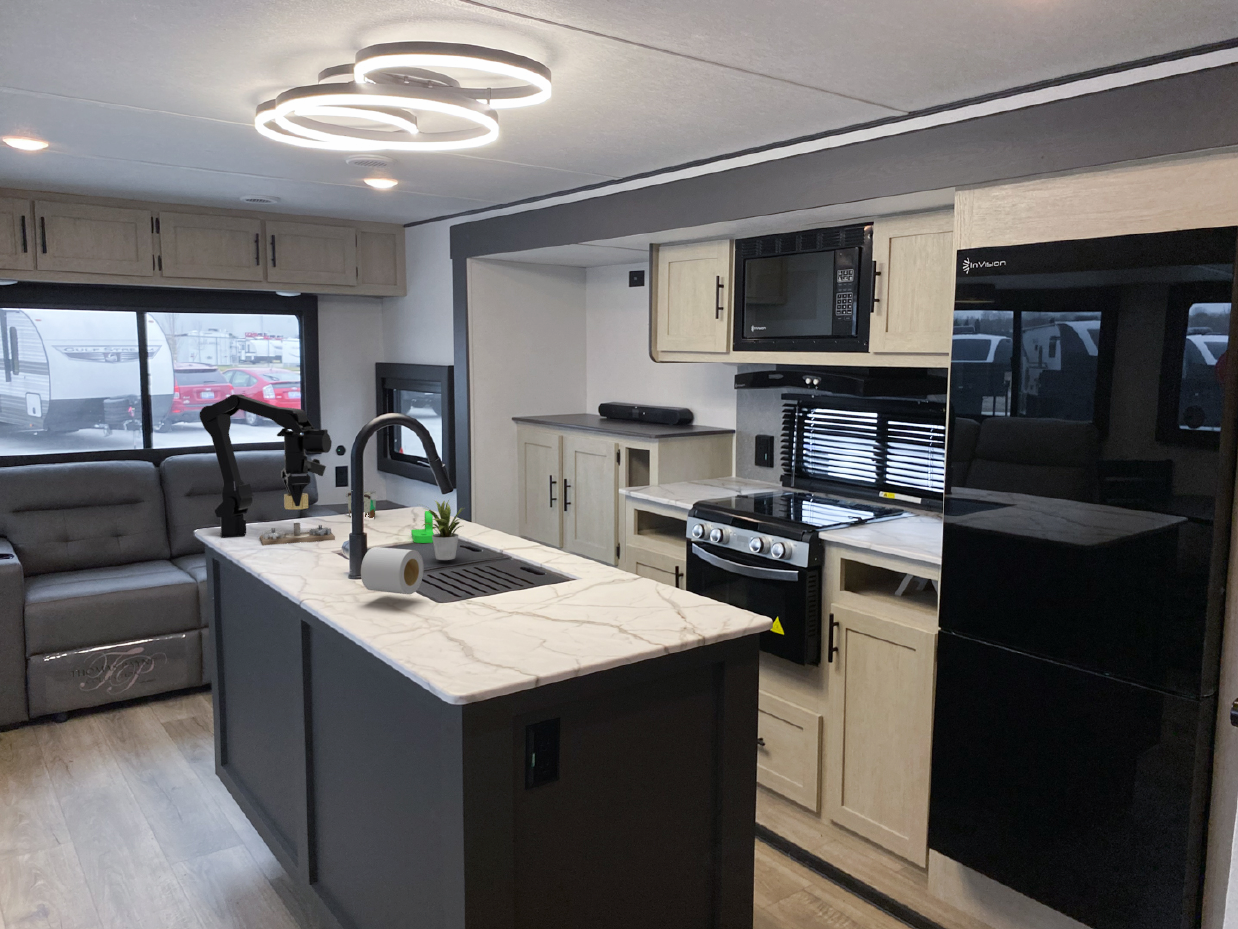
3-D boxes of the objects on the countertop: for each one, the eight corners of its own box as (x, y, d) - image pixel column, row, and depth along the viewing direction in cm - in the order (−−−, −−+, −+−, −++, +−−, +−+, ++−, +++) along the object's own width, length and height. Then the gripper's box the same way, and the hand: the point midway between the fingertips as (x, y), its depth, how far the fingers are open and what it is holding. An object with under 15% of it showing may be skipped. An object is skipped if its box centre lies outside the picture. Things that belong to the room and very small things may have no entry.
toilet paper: (423, 588, 212) (423, 546, 211) (399, 599, 202) (398, 554, 201) (386, 585, 215) (386, 543, 214) (361, 594, 206) (360, 551, 205)
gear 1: (263, 540, 263) (263, 530, 262) (261, 536, 268) (261, 527, 268) (285, 538, 265) (285, 529, 265) (283, 535, 271) (283, 526, 270)
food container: (386, 521, 303) (385, 491, 302) (372, 524, 298) (371, 493, 297) (360, 518, 310) (360, 488, 309) (346, 520, 305) (345, 490, 304)
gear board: (262, 545, 261) (262, 528, 260) (259, 539, 270) (259, 522, 269) (335, 540, 270) (334, 523, 269) (329, 534, 279) (329, 518, 278)
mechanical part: (411, 536, 279) (411, 510, 278) (431, 535, 280) (431, 509, 280) (414, 543, 267) (413, 516, 266) (434, 542, 269) (434, 515, 268)
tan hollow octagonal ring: (286, 510, 264) (285, 496, 264) (283, 507, 270) (283, 493, 270) (309, 508, 267) (308, 495, 267) (306, 505, 273) (306, 492, 273)
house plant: (406, 555, 248) (405, 496, 246) (452, 550, 256) (452, 492, 255) (429, 565, 237) (428, 503, 235) (476, 558, 245) (476, 498, 243)
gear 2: (311, 536, 269) (311, 527, 268) (308, 533, 274) (308, 524, 274) (332, 535, 271) (332, 526, 271) (329, 531, 277) (329, 523, 276)
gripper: (328, 454, 262) (329, 507, 264) (318, 448, 279) (319, 499, 280) (287, 455, 257) (288, 509, 259) (280, 449, 274) (281, 500, 276)
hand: (296, 504), depth 269 cm, fingers closed on tan hollow octagonal ring, 6 cm apart
